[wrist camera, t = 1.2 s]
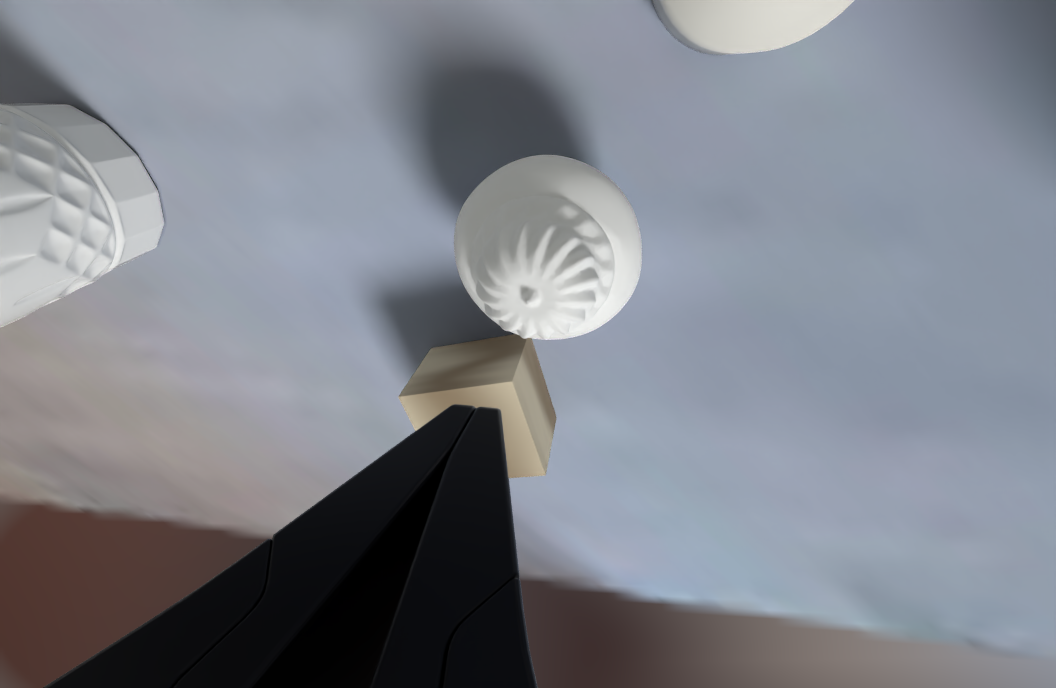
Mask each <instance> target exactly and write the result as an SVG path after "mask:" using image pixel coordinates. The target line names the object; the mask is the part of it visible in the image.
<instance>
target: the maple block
mask: <svg viewBox="0 0 1056 688" xmlns="http://www.w3.org/2000/svg"><path fill="white" fill-rule="evenodd" d="M399 399H400V401H401V403H402V405H403V407H404V409H405V411H406V413H407V415H408V417H409V419H410V421H411V423H412V425H413V427H414V429H415V431H416V430H418V429H419V428H421V427H422V426H423V425H425V424H426V423H427V422H429V421H430V420H432V419H433V418H434V417H436V416H437V415H438V414H440V413H441V412H442V411H444V410H445V409H447V408H448V407H449V406H451V405H453V404H461V405H471V406H474V407H476V408H478V407H491V408H498V409H500V410H501V414H502V423H503V432H504V441H505V450H506V459H507V468H508V478H516V477H530V476H544V475H546V471H547V466H548V460H549V455H550V450H551V444H552V439H553V433H554V428H555V423H556V414H555V411H554V408H553V405H552V402H551V398H550V395H549V392H548V389H547V386H546V383H545V379H544V376H543V373H542V370H541V367H540V364H539V360H538V357H537V354H536V351H535V348H534V345H533V341H532V338H526V339H524V338H522V337H521V336H520V335H517V334H512V335H506V336H500V337H494V338H488V339H482V340H477V341H471V342H465V343H459V344H453V345H447V346H441V347H435V348H431V349H430V350H429V352H428V353H427V355H426V356H425V358H424V359H423V361H422V362H421V364H420V365H419V367H418V368H417V370H416V371H415V373H414V374H413V376H412V377H411V379H410V380H409V382H408V383H407V385H406V386H405V388H404V389H403V391H402V392H401V394H400V395H399Z"/></svg>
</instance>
